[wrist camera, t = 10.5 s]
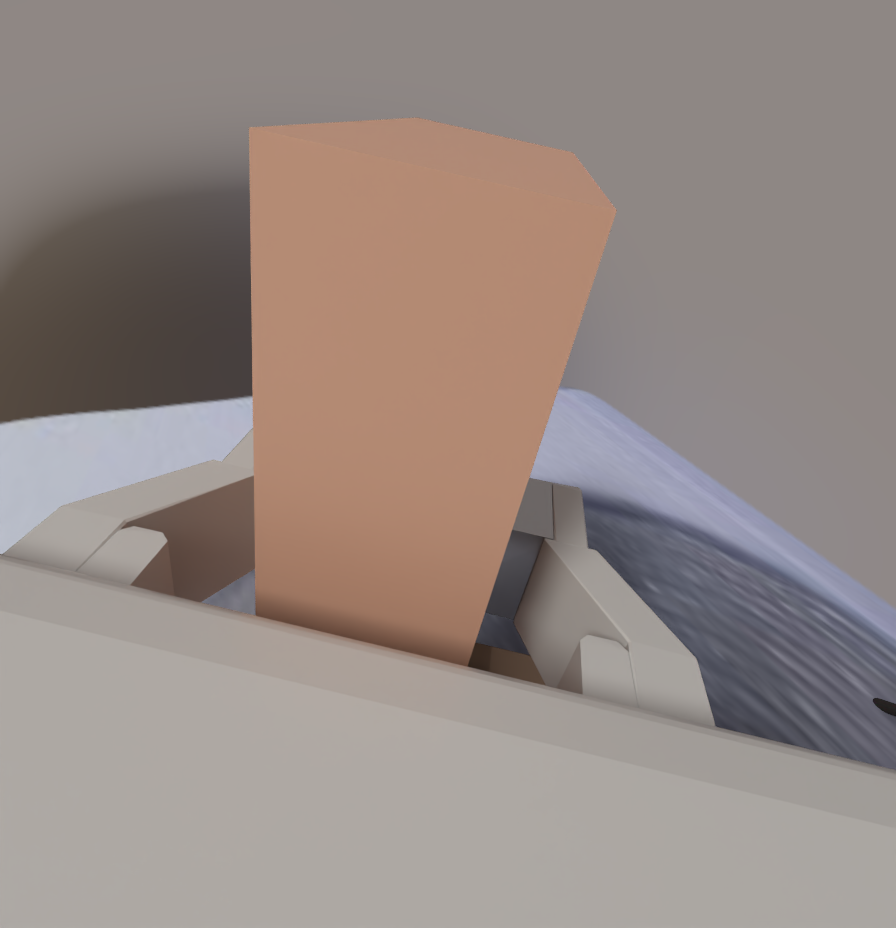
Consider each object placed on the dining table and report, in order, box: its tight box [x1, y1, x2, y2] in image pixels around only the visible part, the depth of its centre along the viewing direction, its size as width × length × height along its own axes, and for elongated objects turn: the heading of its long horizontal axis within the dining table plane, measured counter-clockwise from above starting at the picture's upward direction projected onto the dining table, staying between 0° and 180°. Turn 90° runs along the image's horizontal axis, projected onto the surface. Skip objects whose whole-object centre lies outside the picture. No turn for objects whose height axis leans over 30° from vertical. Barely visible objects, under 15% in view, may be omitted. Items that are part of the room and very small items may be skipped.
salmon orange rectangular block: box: [249, 118, 617, 666], centre depth 9 cm, size 2×6×12 cm, turn 172°
